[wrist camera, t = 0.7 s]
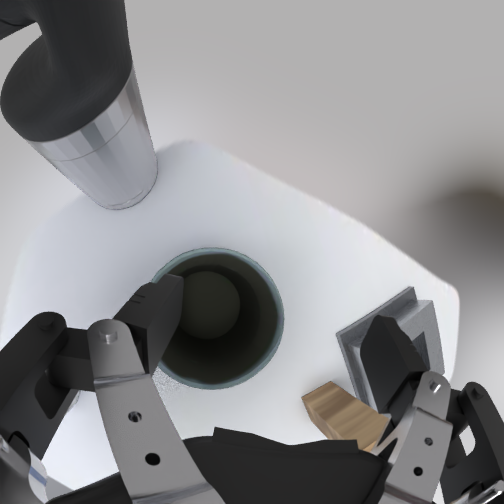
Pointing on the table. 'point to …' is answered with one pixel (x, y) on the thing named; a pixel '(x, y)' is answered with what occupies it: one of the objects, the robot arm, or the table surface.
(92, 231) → the table surface
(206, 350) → the teal cup
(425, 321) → the metal socket
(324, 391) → the oak pin
